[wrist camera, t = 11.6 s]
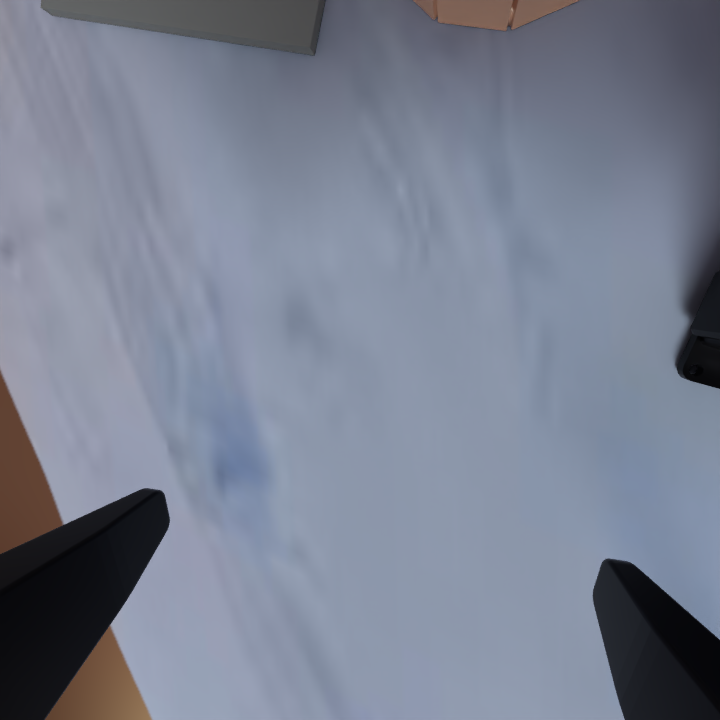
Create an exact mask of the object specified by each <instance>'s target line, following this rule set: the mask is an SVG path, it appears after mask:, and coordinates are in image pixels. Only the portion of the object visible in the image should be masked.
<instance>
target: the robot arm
mask: <svg viewBox="0 0 720 720" xmlns="http://www.w3.org/2000/svg"><path fill="white" fill-rule="evenodd" d="M691 330H692V335H691V338H690V340H689V342H688V344H687V346H686V349H685V351H684V353H683V355H682V357H681V360H680V362H679V364H678V367H677V371H678V374H679V375H680V376H681V377H682V378H684V379H687V380H690V381H693V382H697V383H701V384H704V385H708V386H712V387H715V388H719V389H720V270H719V271H717V272H716V273H715V275H714V277H713V280H712V282H711V284H710V286H709V288H708V291H707V293H706V295H705V297H704V299H703V302H702V304H701V306H700V308H699V310H698V313H697V315H696V317H695V319H694V321H693V324H692V326H691ZM694 364H696V365H697V367H698V368H697V371H696V372H695V373H693V374H690V372H689V369H690V367H691V366H692V365H694ZM169 523H170V517H169V512H168V508H167V503H166V498H165V495H164V493H163V492H162V491H160V490H156V489H149V488H144V489H141V490H139V491H137V492H134V493H132V494H130V495H128V496H126V497H123V498H121V499H119V500H117V501H115V502H113V503H110V504H108V505H106V506H104V507H102V508H100V509H97V510H95V511H93V512H91V513H89V514H87V515H84V516H82V517H80V518H78V519H76V520H74V521H71V522H69V523H67V524H65V525H63V526H61V527H58V528H56V529H54V530H52V531H50V532H48V533H46V534H43V535H41V536H39V537H37V538H35V539H32V540H30V541H28V542H26V543H24V544H21V545H19V546H17V547H15V548H13V549H11V550H8V551H6V552H4V553H2V554H0V720H45V718H46V717H47V716H48V714H49V713H50V711H51V710H52V708H53V707H54V705H55V704H56V703H57V701H58V700H59V698H60V697H61V695H62V694H63V692H64V691H65V690H66V688H67V686H68V685H69V684H70V682H71V681H72V679H73V678H74V676H75V675H76V674H77V672H78V670H79V669H80V668H81V666H82V665H83V663H84V662H85V660H86V659H87V658H88V656H89V655H90V653H91V652H92V650H93V649H94V647H95V646H96V645H97V643H98V642H99V640H100V639H101V637H102V636H103V634H104V633H105V631H106V630H107V629H108V627H109V626H110V624H111V623H112V621H113V620H114V618H115V617H116V616H117V614H118V613H119V611H120V610H121V608H122V607H123V605H124V604H125V602H126V601H127V599H128V597H129V596H130V594H131V592H132V591H133V589H134V587H135V586H136V584H137V582H138V580H139V579H140V577H141V575H142V573H143V572H144V570H145V568H146V567H147V565H148V563H149V561H150V560H151V558H152V556H153V554H154V553H155V551H156V549H157V547H158V546H159V544H160V542H161V540H162V539H163V537H164V535H165V533H166V532H167V530H168V527H169ZM593 602H594V607H595V611H596V615H597V619H598V623H599V626H600V630H601V634H602V638H603V642H604V646H605V650H606V654H607V658H608V662H609V666H610V670H611V674H612V677H613V681H614V685H615V689H616V693H617V696H618V700H619V703H620V706H621V709H622V713H623V716H624V719H625V720H720V640H719V639H718V638H717V637H716V636H715V635H714V634H713V633H711V632H710V631H709V630H708V629H707V628H706V627H705V626H703V625H702V624H701V623H700V622H699V621H698V620H697V619H695V618H694V617H693V616H692V615H691V614H690V613H689V612H688V611H686V610H685V609H684V608H683V607H682V606H681V605H680V604H678V603H677V602H676V601H675V600H674V599H673V598H672V597H670V596H669V595H668V594H667V593H666V592H665V591H664V590H662V589H661V588H660V587H659V586H658V585H657V584H656V583H654V582H653V581H652V580H651V579H650V578H649V577H648V576H646V575H645V574H644V573H643V572H642V571H641V570H640V569H639V568H637V567H636V566H635V565H634V564H632V563H630V562H628V561H622V560H615V559H605V560H604V561H603V562H602V564H601V567H600V570H599V573H598V576H597V580H596V583H595V586H594V589H593Z"/></svg>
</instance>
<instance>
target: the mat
mask: <svg viewBox="0 0 720 720" xmlns="http://www.w3.org/2000/svg"><path fill="white" fill-rule="evenodd" d="M324 5H325V0H41V8H42V9H43V10H45V11H46V12H48V13H49V14H50V15H52V16H57V17H64V18H71V19H77V20H84V21H90V22H97V23H104V24H110V25H117V26H123V27H130V28H136V29H143V30H150V31H156V32H163V33H169V34H176V35H183V36H189V37H196V38H202V39H209V40H215V41H222V42H229V43H235V44H242V45H248V46H255V47H261V48H268V49H275V50H281V51H288V52H294V53H301V54H308V55H315V50H316V45H317V40H318V35H319V30H320V25H321V20H322V15H323V10H324Z"/></svg>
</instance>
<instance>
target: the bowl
mask: <svg viewBox="0 0 720 720" xmlns="http://www.w3.org/2000/svg"><path fill="white" fill-rule="evenodd" d="M413 1H414V2H415V3H416V4H417V5H418V6H419V7H421V8H422V9H423V10H424V11H425V12H426V13H427V14H428V15H429V16H430V17H431V18H432V19H433V20H435V19H436V17H438V22H439V23H446V24H454V25H462V26H470V27H478V28H486V29H494V30H502V31H506V30H507V27H508V26H510V25H511V30H513V29H515V28H518V27H520V26H522V25H525V24H527V23H529V22H531V21H534V20H536V19H538V18H541V17H543V16H545V15H547V14H550V13H552V12H554V11H557V10H559V9H561V8H563V7H566V6H568V5H570V4H573V3H575V2H577V1H579V0H413Z"/></svg>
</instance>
